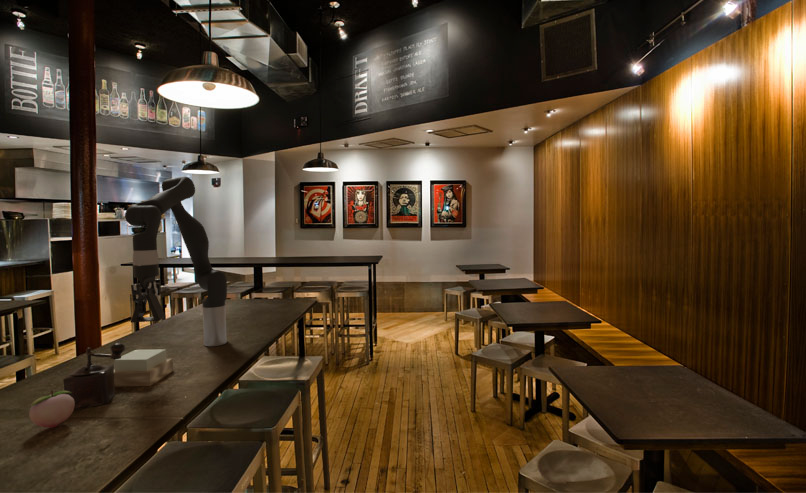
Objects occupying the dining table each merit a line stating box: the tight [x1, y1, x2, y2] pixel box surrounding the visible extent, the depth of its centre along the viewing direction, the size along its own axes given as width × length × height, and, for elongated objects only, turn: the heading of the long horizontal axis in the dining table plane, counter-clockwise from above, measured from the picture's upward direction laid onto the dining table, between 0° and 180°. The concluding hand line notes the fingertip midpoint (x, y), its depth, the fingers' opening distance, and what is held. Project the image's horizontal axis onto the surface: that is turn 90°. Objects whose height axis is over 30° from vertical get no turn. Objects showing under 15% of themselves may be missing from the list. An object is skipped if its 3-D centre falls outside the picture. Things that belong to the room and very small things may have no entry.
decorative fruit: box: [28, 390, 75, 428], centre depth 108 cm, size 9×8×10 cm
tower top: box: [113, 348, 167, 371], centre depth 143 cm, size 11×11×4 cm
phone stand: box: [130, 287, 166, 324], centre depth 142 cm, size 9×6×12 cm, turn 104°
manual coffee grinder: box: [63, 342, 126, 410], centre depth 125 cm, size 16×11×18 cm
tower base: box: [114, 358, 174, 387], centre depth 143 cm, size 14×14×5 cm
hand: (148, 310), depth 142 cm, fingers closed on phone stand, 6 cm apart
